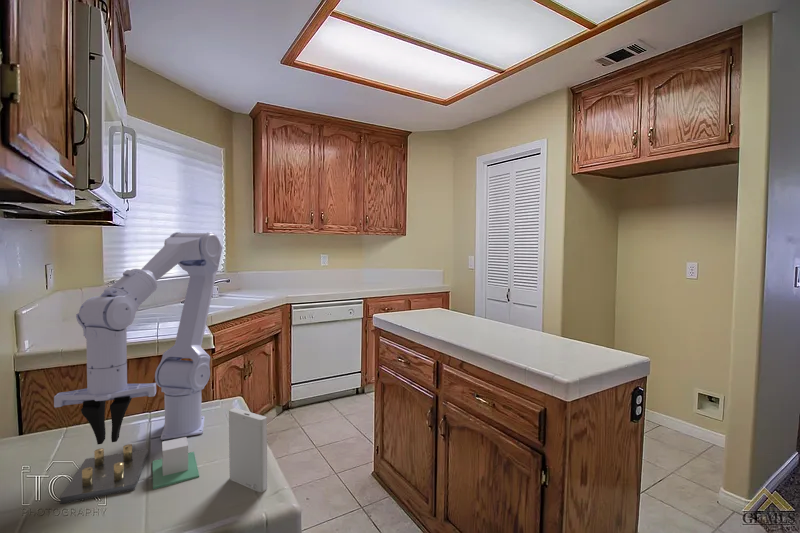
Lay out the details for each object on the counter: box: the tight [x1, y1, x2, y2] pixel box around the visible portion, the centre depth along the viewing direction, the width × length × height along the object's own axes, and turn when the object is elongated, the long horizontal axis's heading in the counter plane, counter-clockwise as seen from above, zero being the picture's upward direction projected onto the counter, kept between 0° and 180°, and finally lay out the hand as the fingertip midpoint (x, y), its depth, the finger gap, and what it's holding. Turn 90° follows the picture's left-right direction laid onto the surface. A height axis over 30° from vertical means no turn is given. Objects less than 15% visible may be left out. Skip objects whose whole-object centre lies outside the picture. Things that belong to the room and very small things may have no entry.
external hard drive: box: [228, 407, 268, 493], centre depth 70 cm, size 2×8×12 cm, turn 60°
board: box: [152, 436, 200, 490], centre depth 74 cm, size 10×7×5 cm
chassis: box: [59, 443, 149, 505], centre depth 72 cm, size 13×10×4 cm
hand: (108, 440), depth 72 cm, fingers closed
